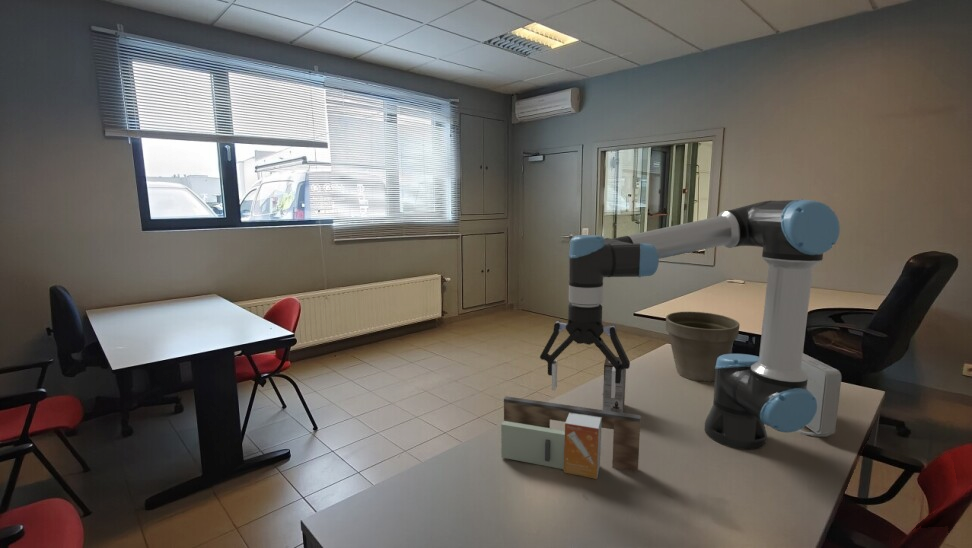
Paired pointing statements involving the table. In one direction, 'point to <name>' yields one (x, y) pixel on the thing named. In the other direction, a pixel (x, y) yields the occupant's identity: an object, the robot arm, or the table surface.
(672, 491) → the table surface
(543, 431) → the sliding door
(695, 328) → the plant pot
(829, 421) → the network device
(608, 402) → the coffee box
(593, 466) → the small box
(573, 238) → the robot arm
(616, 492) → the table surface
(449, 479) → the table surface
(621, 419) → the wall frame
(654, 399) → the table surface
